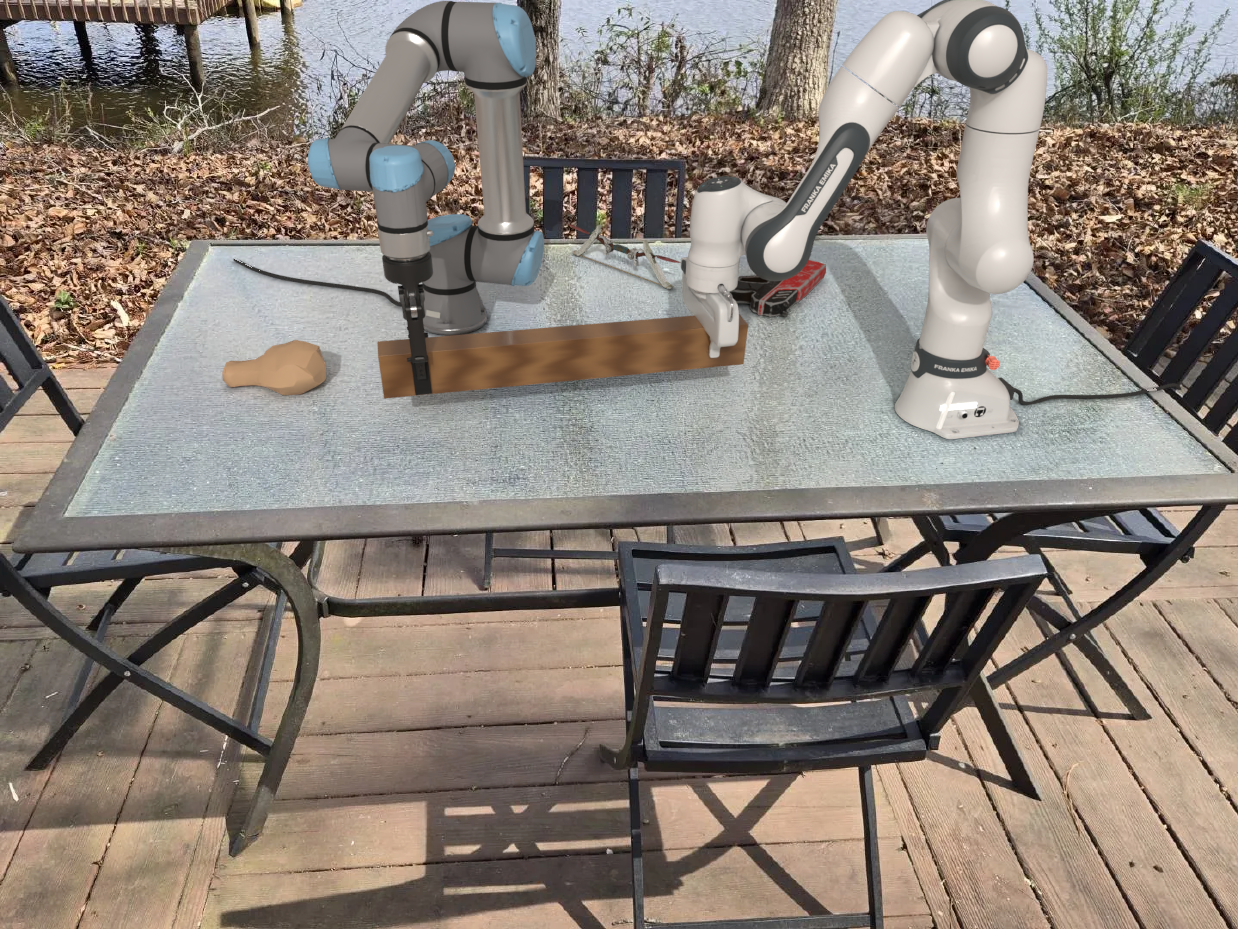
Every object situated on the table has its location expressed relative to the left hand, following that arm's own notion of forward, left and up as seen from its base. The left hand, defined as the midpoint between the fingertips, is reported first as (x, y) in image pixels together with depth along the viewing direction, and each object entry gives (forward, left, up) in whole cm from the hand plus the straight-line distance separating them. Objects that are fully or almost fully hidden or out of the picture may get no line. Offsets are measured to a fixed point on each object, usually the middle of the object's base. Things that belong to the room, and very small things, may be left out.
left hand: (422, 384), depth 149 cm
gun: (-2, +102, -12) cm, 102 cm away
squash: (-36, -10, -12) cm, 39 cm away
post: (+13, +22, -1) cm, 25 cm away
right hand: (+26, +44, +2) cm, 51 cm away
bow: (-36, +83, -12) cm, 91 cm away
